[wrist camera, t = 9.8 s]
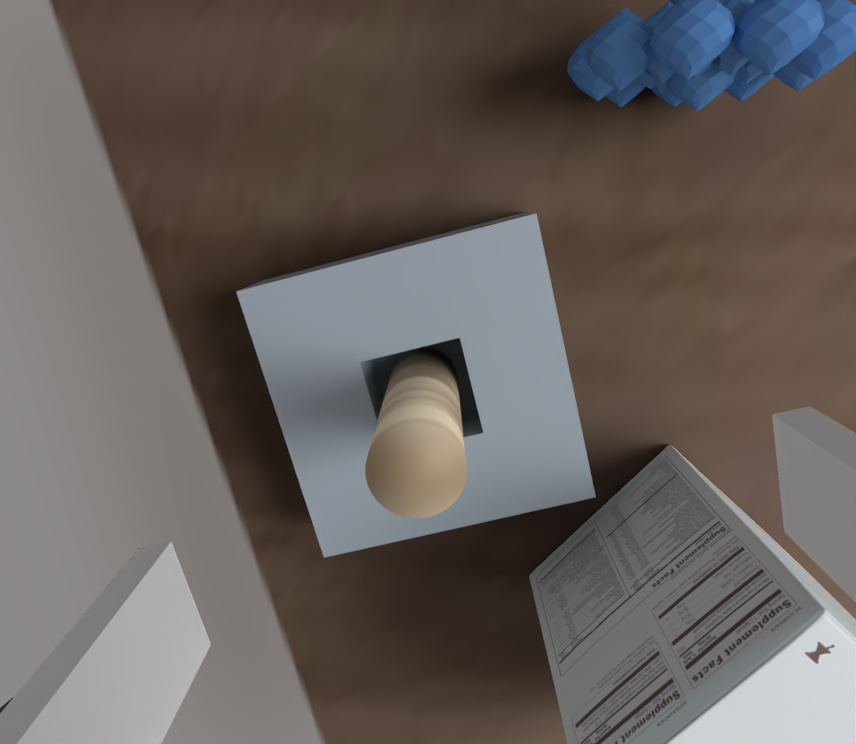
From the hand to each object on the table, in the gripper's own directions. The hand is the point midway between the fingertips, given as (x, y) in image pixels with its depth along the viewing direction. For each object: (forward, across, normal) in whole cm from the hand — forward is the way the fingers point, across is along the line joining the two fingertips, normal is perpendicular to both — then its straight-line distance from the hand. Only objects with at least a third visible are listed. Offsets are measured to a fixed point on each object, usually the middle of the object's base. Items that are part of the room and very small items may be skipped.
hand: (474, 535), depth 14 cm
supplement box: (+26, +10, -20) cm, 34 cm away
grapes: (+26, +14, +11) cm, 32 cm away
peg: (+25, -2, -3) cm, 25 cm away
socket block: (+26, -2, -3) cm, 26 cm away
